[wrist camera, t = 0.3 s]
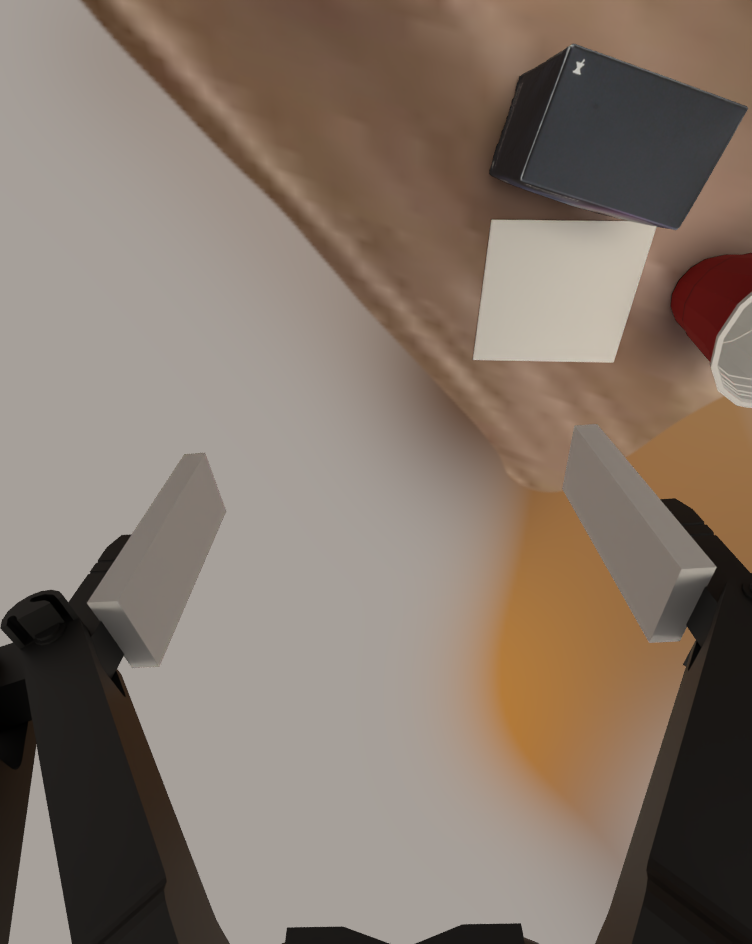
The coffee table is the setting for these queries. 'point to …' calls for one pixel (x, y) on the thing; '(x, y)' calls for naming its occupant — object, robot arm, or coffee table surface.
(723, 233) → the coffee table surface
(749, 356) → the plastic cup
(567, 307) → the mat
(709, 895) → the robot arm
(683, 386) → the coffee table surface
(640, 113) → the small box
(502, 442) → the coffee table surface
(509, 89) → the coffee table surface
